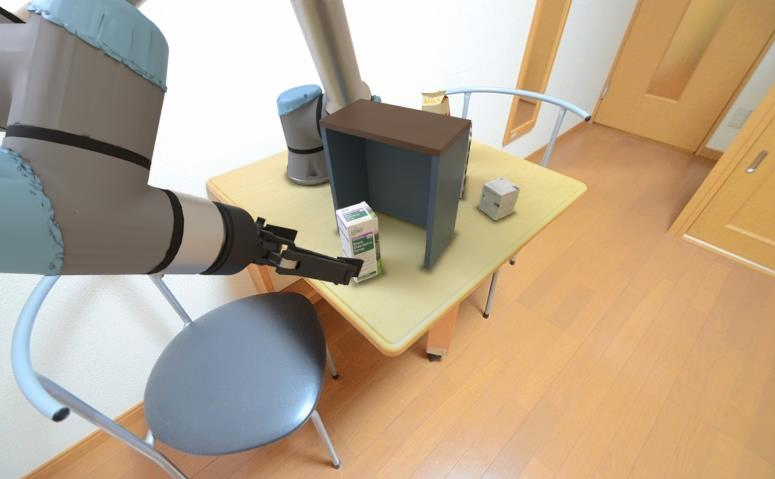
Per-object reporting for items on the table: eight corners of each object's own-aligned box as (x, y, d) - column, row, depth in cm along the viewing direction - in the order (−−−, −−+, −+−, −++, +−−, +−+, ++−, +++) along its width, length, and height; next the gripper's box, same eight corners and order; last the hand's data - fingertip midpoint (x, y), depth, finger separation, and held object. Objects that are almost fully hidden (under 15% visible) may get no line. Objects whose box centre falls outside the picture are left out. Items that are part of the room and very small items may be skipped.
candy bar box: (446, 175, 91) (452, 118, 80) (464, 176, 90) (473, 119, 79) (443, 197, 83) (450, 137, 71) (462, 199, 82) (472, 138, 71)
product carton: (477, 208, 79) (482, 183, 74) (495, 200, 81) (501, 175, 76) (495, 221, 75) (502, 195, 70) (513, 213, 77) (521, 187, 72)
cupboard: (338, 232, 73) (318, 120, 56) (368, 204, 81) (360, 98, 64) (428, 270, 64) (440, 149, 46) (453, 234, 72) (471, 119, 54)
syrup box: (356, 284, 62) (347, 227, 52) (344, 265, 66) (335, 208, 56) (382, 273, 63) (378, 216, 54) (369, 255, 67) (364, 199, 58)
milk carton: (451, 153, 100) (459, 86, 87) (438, 165, 95) (445, 96, 81) (425, 146, 104) (429, 81, 91) (412, 158, 98) (414, 90, 85)
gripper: (124, 230, 36) (263, 246, 56) (278, 329, 26) (381, 306, 46) (145, 169, 36) (277, 206, 55) (309, 245, 26) (400, 258, 45)
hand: (324, 252), depth 51 cm, fingers open, 13 cm apart
